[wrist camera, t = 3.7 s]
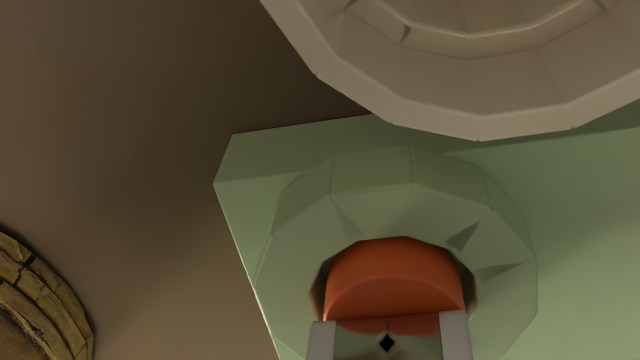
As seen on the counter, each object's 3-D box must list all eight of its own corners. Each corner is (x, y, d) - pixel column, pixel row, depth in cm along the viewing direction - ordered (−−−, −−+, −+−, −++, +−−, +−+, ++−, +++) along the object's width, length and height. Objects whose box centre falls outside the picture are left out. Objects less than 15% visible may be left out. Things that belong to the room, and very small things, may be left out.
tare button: (315, 236, 12) (308, 283, 11) (453, 221, 12) (460, 269, 11) (341, 328, 14) (337, 377, 13) (464, 318, 13) (472, 369, 12)
